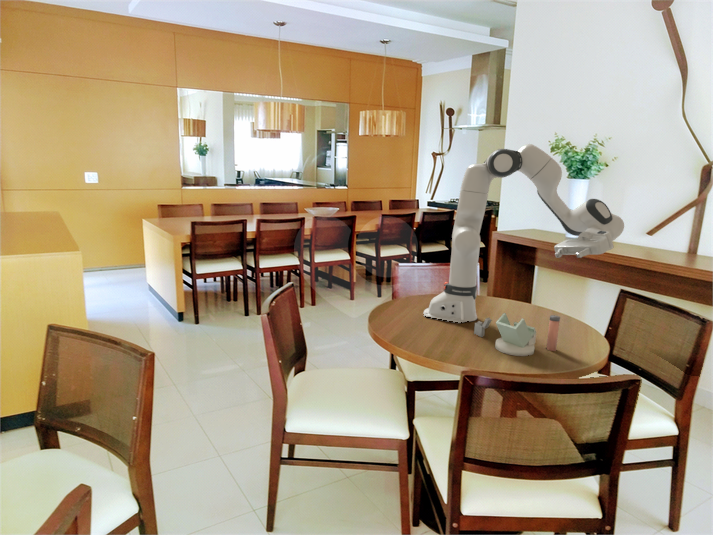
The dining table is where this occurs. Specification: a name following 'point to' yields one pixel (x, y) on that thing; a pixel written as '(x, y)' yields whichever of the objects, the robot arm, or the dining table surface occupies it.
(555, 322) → the marker
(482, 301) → the dining table surface
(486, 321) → the lighter
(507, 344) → the green holder stand
